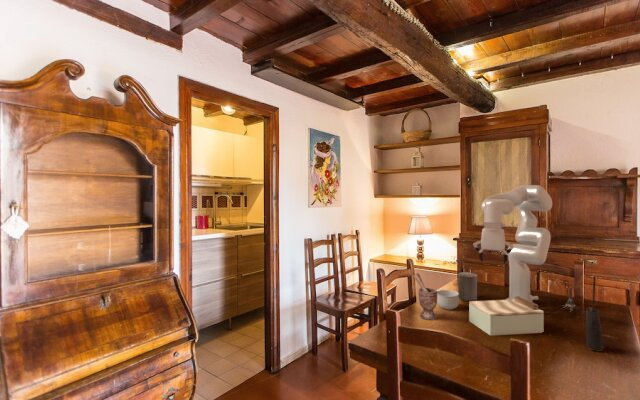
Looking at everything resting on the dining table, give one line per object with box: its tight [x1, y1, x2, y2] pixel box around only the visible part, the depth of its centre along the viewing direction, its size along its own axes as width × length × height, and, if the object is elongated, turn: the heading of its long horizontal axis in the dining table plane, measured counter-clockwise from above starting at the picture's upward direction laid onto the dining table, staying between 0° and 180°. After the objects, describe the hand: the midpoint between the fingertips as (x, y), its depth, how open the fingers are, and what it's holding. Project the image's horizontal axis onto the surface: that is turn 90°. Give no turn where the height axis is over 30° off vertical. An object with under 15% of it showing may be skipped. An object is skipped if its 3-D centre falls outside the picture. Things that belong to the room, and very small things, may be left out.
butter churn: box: [585, 275, 605, 350], centre depth 128 cm, size 9×10×28 cm
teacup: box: [437, 288, 460, 311], centre depth 175 cm, size 14×11×8 cm
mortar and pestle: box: [413, 273, 438, 321], centre depth 161 cm, size 12×9×20 cm
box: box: [468, 303, 545, 337], centre depth 149 cm, size 24×16×8 cm, turn 96°
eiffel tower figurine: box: [563, 285, 579, 312], centre depth 170 cm, size 15×10×13 cm
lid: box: [468, 297, 545, 316], centre depth 149 cm, size 24×16×3 cm, turn 96°
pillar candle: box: [457, 271, 478, 302], centre depth 188 cm, size 10×10×15 cm
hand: (492, 261), depth 160 cm, fingers open, 9 cm apart
